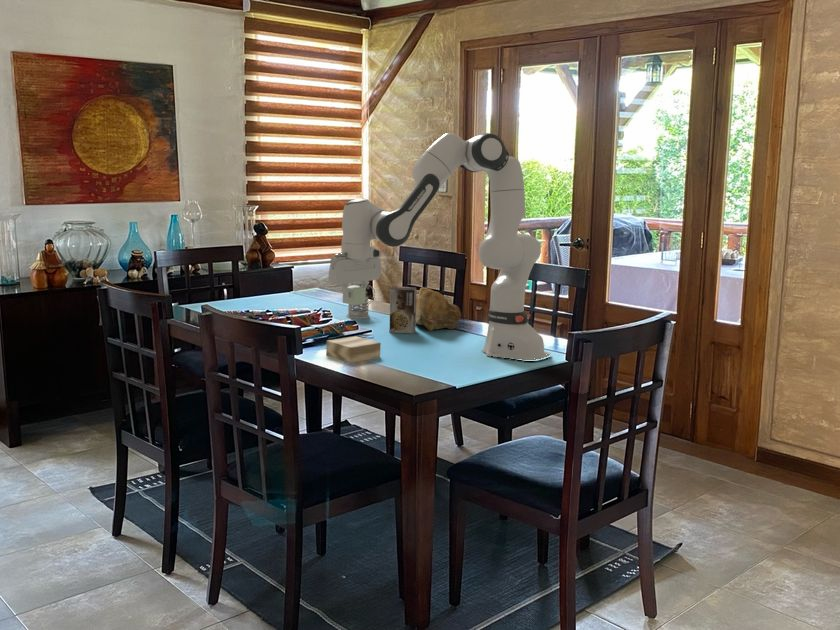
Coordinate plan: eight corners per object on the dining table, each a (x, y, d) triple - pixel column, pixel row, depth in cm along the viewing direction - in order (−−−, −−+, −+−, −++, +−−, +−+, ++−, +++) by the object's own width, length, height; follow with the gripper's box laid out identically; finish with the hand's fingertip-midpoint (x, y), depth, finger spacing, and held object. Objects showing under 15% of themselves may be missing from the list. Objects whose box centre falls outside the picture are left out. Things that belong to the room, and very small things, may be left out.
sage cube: (365, 303, 257) (365, 287, 256) (354, 305, 253) (354, 289, 252) (353, 300, 260) (354, 285, 259) (342, 302, 256) (342, 286, 255)
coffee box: (415, 330, 302) (417, 287, 299) (413, 334, 296) (415, 289, 293) (391, 329, 303) (392, 285, 300) (388, 332, 296) (390, 288, 294)
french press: (342, 314, 327) (343, 252, 322) (369, 313, 332) (370, 251, 327) (350, 319, 318) (352, 254, 314) (378, 317, 323) (380, 254, 319)
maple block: (380, 358, 259) (380, 342, 258) (350, 363, 251) (351, 347, 250) (355, 351, 267) (356, 336, 267) (326, 356, 259) (326, 340, 258)
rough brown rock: (464, 336, 299) (469, 295, 297) (419, 332, 296) (424, 291, 294) (452, 325, 322) (457, 288, 320) (410, 321, 319) (415, 283, 317)
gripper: (339, 255, 243) (338, 301, 246) (384, 251, 259) (383, 294, 262) (324, 253, 247) (323, 298, 250) (370, 249, 263) (368, 291, 265)
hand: (354, 296), depth 256 cm, fingers closed on sage cube, 5 cm apart
